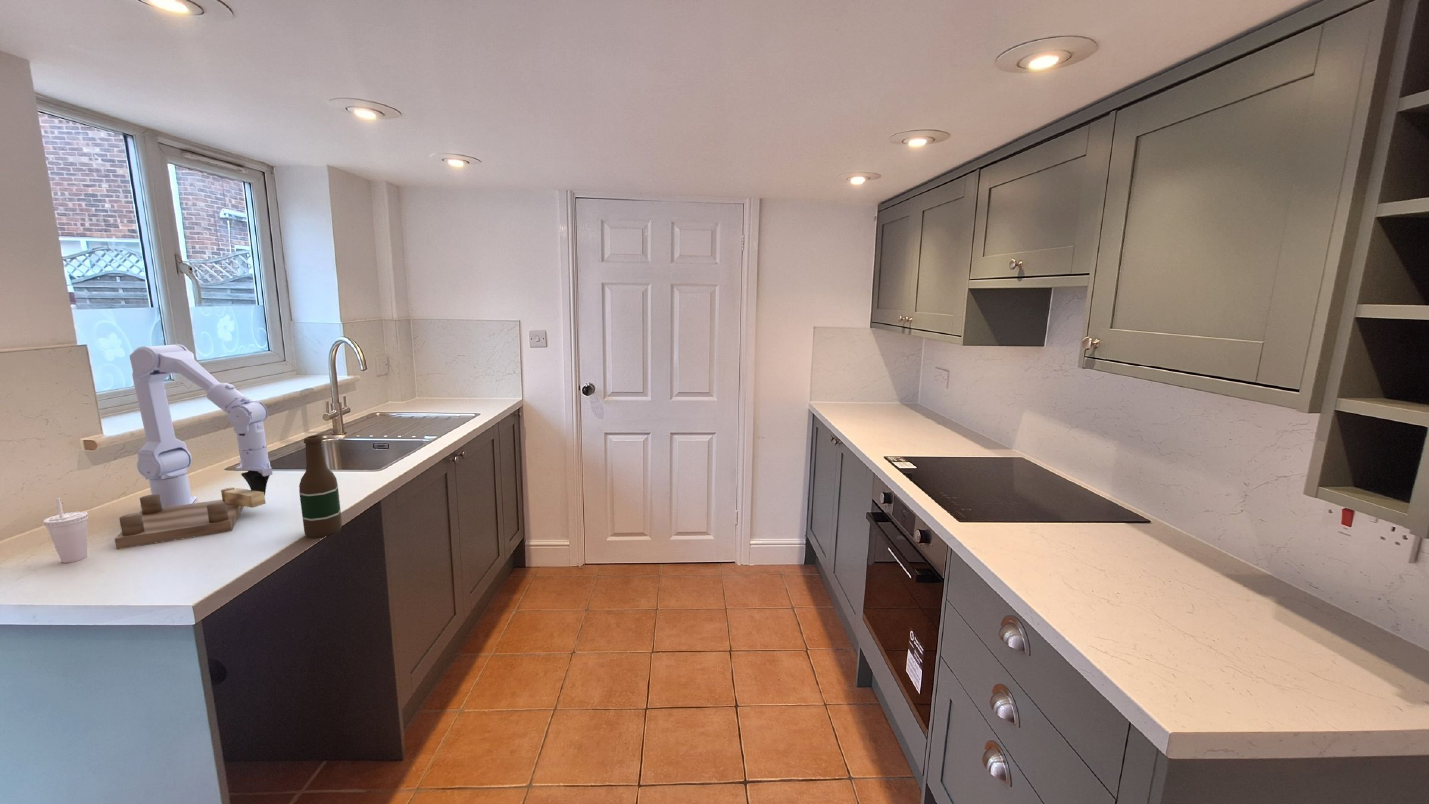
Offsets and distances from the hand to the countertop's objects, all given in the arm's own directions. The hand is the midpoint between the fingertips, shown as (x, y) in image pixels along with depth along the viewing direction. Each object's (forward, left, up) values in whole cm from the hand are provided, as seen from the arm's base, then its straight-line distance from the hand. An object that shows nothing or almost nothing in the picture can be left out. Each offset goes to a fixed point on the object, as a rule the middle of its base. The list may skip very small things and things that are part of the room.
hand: (259, 496), depth 151 cm
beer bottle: (+26, +15, -4) cm, 30 cm away
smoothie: (+16, -30, -4) cm, 35 cm away
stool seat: (+4, -14, -3) cm, 15 cm away
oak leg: (0, -4, -1) cm, 4 cm away
